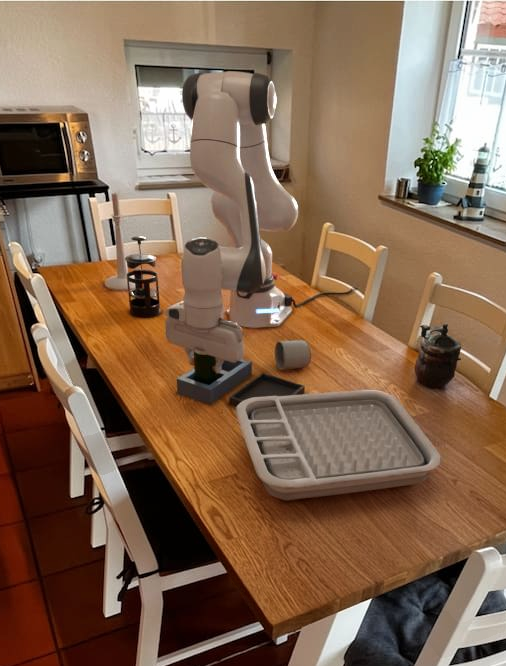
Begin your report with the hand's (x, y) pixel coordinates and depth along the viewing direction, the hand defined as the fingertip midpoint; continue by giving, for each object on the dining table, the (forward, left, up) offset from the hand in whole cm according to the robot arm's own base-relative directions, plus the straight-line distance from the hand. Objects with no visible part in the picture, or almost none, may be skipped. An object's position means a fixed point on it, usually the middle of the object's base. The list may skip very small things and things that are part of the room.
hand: (205, 368), depth 141 cm
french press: (-30, -45, -6) cm, 55 cm away
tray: (-5, +15, -6) cm, 17 cm away
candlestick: (-45, -67, -6) cm, 81 cm away
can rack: (-4, 0, -6) cm, 7 cm away
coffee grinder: (-36, +46, -6) cm, 59 cm away
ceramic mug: (-24, +10, -6) cm, 27 cm away
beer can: (0, 0, -6) cm, 6 cm away
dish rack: (+10, +39, -6) cm, 41 cm away
